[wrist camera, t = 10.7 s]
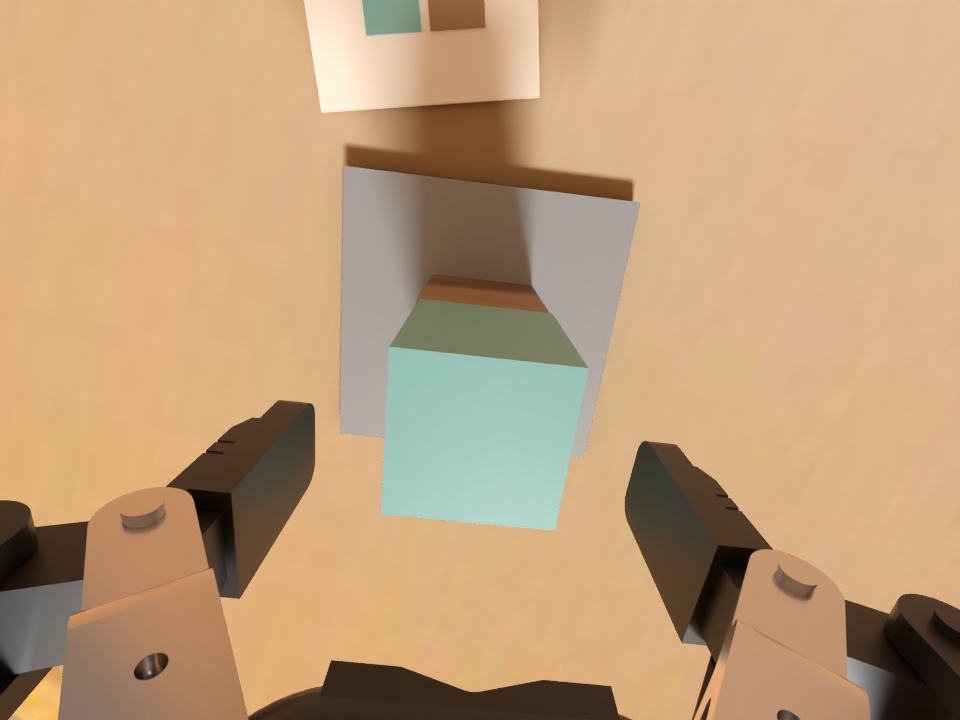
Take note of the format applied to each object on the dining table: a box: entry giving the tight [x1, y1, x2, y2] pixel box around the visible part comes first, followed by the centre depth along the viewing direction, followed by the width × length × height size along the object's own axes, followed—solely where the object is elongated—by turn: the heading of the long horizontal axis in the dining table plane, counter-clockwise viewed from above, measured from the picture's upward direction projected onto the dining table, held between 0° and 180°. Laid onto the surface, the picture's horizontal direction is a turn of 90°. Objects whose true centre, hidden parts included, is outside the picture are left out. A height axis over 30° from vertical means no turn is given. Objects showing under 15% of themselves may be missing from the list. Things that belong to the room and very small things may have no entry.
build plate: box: [340, 166, 640, 458], centre depth 24 cm, size 14×14×1 cm
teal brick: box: [381, 299, 589, 530], centre depth 15 cm, size 5×5×6 cm
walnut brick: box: [417, 274, 549, 313], centre depth 20 cm, size 5×5×6 cm
